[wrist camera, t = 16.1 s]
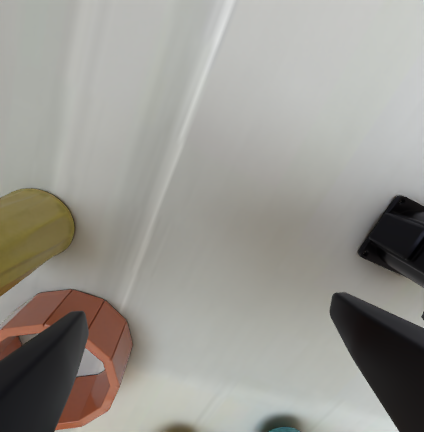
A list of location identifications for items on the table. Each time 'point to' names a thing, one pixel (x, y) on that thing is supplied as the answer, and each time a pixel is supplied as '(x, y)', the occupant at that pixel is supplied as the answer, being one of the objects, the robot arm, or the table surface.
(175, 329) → the table surface
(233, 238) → the table surface
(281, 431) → the beverage bottle
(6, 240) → the vase
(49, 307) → the terracotta ring
